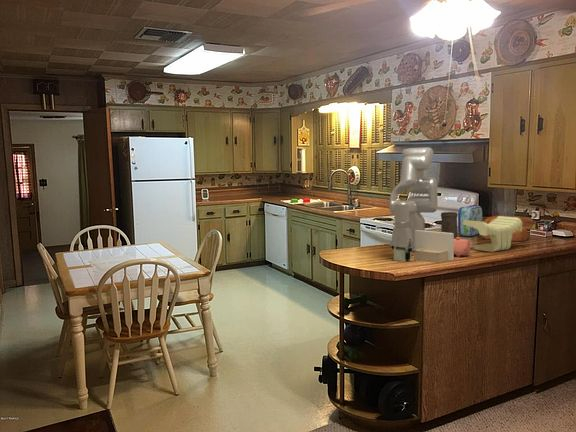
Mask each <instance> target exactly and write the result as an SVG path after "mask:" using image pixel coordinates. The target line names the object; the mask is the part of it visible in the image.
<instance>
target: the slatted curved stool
mask: <svg viewBox="0 0 576 432" xmlns="http://www.w3.org/2000/svg"><path fill="white" fill-rule="evenodd" d="M497 216H498V217H497V219H495V220H493V221H492V222H490V223H489V224H487V223H484V221H482V222H480V221H470V220H463V225H467V226H470V227H473V228H475V229H478V231H479V234H478V235H479V236H482V235H484V236H487V235H489V236H490V238H491V239H490V241H491V243H484V244H475V245H474V246H473V250H479V251H484V252H489V253H492V252H500V251H507V250H510V248H511V245H512V241H511V239H512V233H514V232H515V231H522V221H521V220H520V219H519V218H520V217H518V218H516V217H517V216H508V217H504V216H505V215H497Z"/></svg>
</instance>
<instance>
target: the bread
mask: <svg viewBox="0 0 576 432" xmlns="http://www.w3.org/2000/svg"><path fill="white" fill-rule="evenodd" d="M498 216H499V215H493V216H488V217H487V218H485V220H484V221H483V222H484V223H487V224H489V223H490V222H492V221H493V220H495V219H497V217H498ZM503 216H504V217H509V216H507V215H503ZM515 217H516V218H519V219H520V220H521V221H522V231H515V232H514V233H512V239H511V242H524V241H527V239H528V229H527V223H526V221H525V220H524V219H523V218H522V217H517V216H515ZM481 238H482V239H484V240H491V238H490V236H489V235H487V236H484V235H481Z"/></svg>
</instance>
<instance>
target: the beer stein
mask: <svg viewBox="0 0 576 432" xmlns="http://www.w3.org/2000/svg"><path fill="white" fill-rule="evenodd" d="M440 213H441V214H440V216H441V217H440V218H441V224H440V225H441V226H440V228H441V229H440V230H441V231H440V232H445V233H454V239H456V237H458V212H454V211H445V212H443V211H442V212H440Z"/></svg>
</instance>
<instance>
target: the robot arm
mask: <svg viewBox="0 0 576 432" xmlns="http://www.w3.org/2000/svg"><path fill="white" fill-rule="evenodd" d="M401 152H402V153H401V156H402V161H401V167H400V168H401V170H400V177H399V179H400V180H399V182H398V184H397V185H395V186H394V188H393V189H392V191H391V193H390V197H389V205H388V210H389V212H390V214H391V215H394V222H393V224H392V225H393V226H394V227H393V228H392V233H391V234H392V235H391V241H390V242H389V246H390V247H391V249H392V251H393V252H394V249H397V248H399V247H402V248H405V250H406V253H405V260H408V261H411V260H410V252H411V253H412V252H414V250H415V230H421V231H426V230H425V229H426V226H425V224H426V223H425V222H426V220H425V218H424V216H423V215H422V213H423V214H424V213H425V214H426V213H427V214H428V213H430V214H431V213H436V212H437V210H438V182H437V179H436V178H435V177H431V176H430V177H428V176H427V177H425V176H424V175H425V174H424V172H425V171H427V170H428V169H429V168H430V167H431V164H432V162H433V159H434V150H433V148H432V147H427V146H426V147H409V148H404V149H403V150H402V151H401ZM405 190H409V192H410V194H415V195H416V196H415V195H414V196H409V197H408V198H407V200H397V197H398V196H399V195H400V194H401V193H402V192H403V191H405Z"/></svg>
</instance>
